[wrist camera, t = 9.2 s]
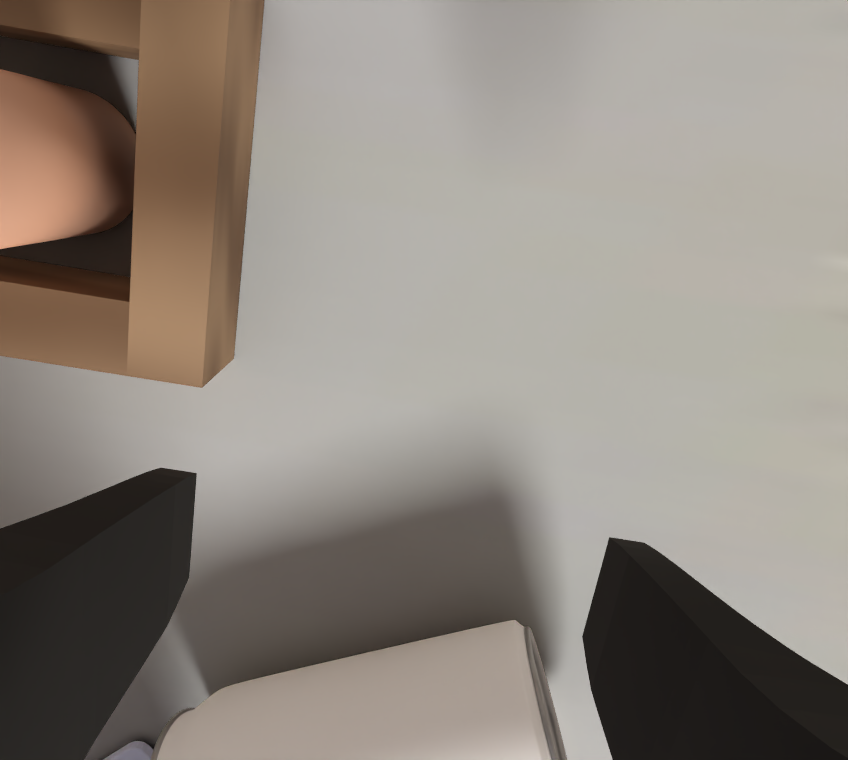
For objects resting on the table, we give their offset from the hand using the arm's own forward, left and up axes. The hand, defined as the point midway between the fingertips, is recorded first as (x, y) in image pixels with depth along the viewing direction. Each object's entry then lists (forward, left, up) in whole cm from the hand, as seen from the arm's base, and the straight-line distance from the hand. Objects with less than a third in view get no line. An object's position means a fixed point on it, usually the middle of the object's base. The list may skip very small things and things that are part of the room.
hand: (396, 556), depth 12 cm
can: (-2, -11, -7) cm, 13 cm away
